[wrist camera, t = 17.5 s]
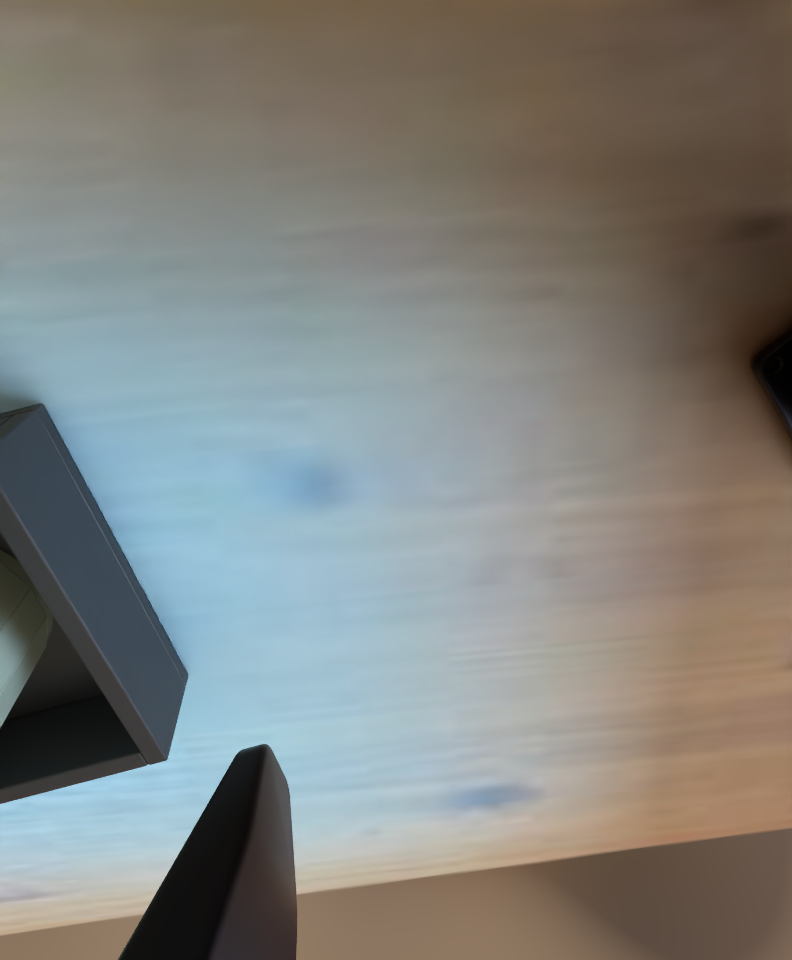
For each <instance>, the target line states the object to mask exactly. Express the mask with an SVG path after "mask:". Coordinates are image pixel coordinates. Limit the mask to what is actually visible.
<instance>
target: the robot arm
mask: <svg viewBox="0 0 792 960" xmlns="http://www.w3.org/2000/svg"><path fill="white" fill-rule="evenodd" d="M771 360H773V364H772V366H771V367H770V368H769V369H767V365H768V363H769V362H770V361H771ZM752 369H753V373H754V374H755V376H756V378H757V380H758V381H759V383H760V385H761V386H762V388H763V390H764V392H765V393H766V395H767V397H768V399H769V400H770V402H771V404H772V406H773V407H774V409H775V411H776V413H777V414H778V416H779V418H780V420H781V421H782V423H783V425H784V427H785V428H786V430H787V432H788V433H789V435H790V437H791V439H792V328H791V329H790V330H789V331H788V332H786V333H785V334H784V335H782V336H781V337H780V338H778V339H777V340H776V341H774V342H773V343H772V344H770V345H769V346H768V347H767V348H765V349H764V350H763V351H761V352H760V353H759V354H758V355H757V356H756V357H755V359H754V361H753V365H752ZM296 900H297V899H296V882H295V867H294V852H293V836H292V821H291V806H290V794H289V788H288V784H287V780H286V778H285V776H284V774H283V772H282V770H281V768H280V766H279V764H278V761H277V759H276V757H275V755H274V753H273V751H272V749H271V748H270V747H269V746H268V745H266V744H262V745H258V746H254V747H250V748H247V749H243V750H241V751H240V752H239V753H238V754H237V755H236V756H235V758H234V759H233V761H232V763H231V765H230V766H229V768H228V770H227V772H226V773H225V775H224V777H223V778H222V780H221V782H220V784H219V785H218V787H217V789H216V791H215V792H214V794H213V796H212V798H211V799H210V801H209V803H208V804H207V806H206V808H205V810H204V811H203V813H202V815H201V817H200V818H199V820H198V822H197V824H196V825H195V827H194V829H193V830H192V832H191V834H190V836H189V837H188V839H187V841H186V843H185V844H184V846H183V848H182V850H181V851H180V853H179V855H178V856H177V858H176V860H175V862H174V863H173V865H172V867H171V869H170V870H169V872H168V874H167V876H166V877H165V879H164V881H163V882H162V884H161V886H160V888H159V889H158V891H157V893H156V895H155V896H154V898H153V900H152V902H151V903H150V905H149V907H148V908H147V910H146V912H145V914H144V915H143V917H142V919H141V921H140V922H139V924H138V926H137V928H136V929H135V931H134V933H133V935H132V936H131V938H130V940H129V942H128V943H127V945H126V947H125V948H124V950H123V952H122V954H121V955H120V957H119V959H118V960H296V943H297V901H296Z"/></svg>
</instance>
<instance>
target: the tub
mask: <svg viewBox="0 0 792 960" xmlns="http://www.w3.org/2000/svg"><path fill="white" fill-rule="evenodd" d="M0 549H1V550H3V551H4V552H6V553H8V554H9V555H11V556H13V557H14V558H15V559H17V560H18V561H19V563H20V564H21V566H22V568H23V569H24V571H25V572H26V574H27V575H28V577H29V579H30V580H31V582H32V583H33V585H34V586H35V588H36V589H37V591H38V593H39V594H40V596H41V597H42V599H43V600H44V602H45V604H46V605H47V607H48V608H49V610H50V611H51V613H52V615H53V628H52V633H51V636H50V639H49V641H48V643H47V645H46V648H45V650H44V652H43V653H42V655H41V657H40V659H39V661H38V662H37V664H36V666H35V668H34V669H33V671H32V673H31V675H30V677H29V678H28V680H27V682H26V684H25V685H24V687H23V689H22V691H21V692H20V694H19V696H18V698H17V700H16V701H15V703H14V705H13V707H12V708H11V710H10V712H9V714H8V716H7V717H6V719H5V721H4V723H3V724H2V726H1V728H0V804H2V803H6V802H9V801H13V800H17V799H21V798H25V797H29V796H32V795H36V794H40V793H44V792H48V791H51V790H55V789H59V788H63V787H67V786H71V785H74V784H78V783H82V782H86V781H90V780H93V779H97V778H101V777H105V776H109V775H113V774H116V773H120V772H124V771H128V770H132V769H136V768H139V767H143V766H146V765H147V764H150V765H151V764H155V763H158V762H162V761H166V760H167V759H168V755H169V751H170V747H171V743H172V739H173V735H174V731H175V727H176V723H177V719H178V715H179V711H180V707H181V703H182V699H183V695H184V691H185V686H186V683H187V679H188V674H187V672H186V670H185V668H184V666H183V664H182V663H181V661H180V659H179V657H178V655H177V653H176V651H175V649H174V648H173V646H172V644H171V642H170V640H169V638H168V636H167V634H166V633H165V631H164V629H163V627H162V625H161V623H160V621H159V620H158V618H157V616H156V614H155V612H154V610H153V608H152V606H151V605H150V603H149V601H148V599H147V597H146V595H145V593H144V592H143V590H142V588H141V586H140V584H139V582H138V580H137V578H136V577H135V575H134V573H133V571H132V569H131V567H130V565H129V564H128V562H127V560H126V558H125V556H124V554H123V552H122V550H121V549H120V547H119V545H118V543H117V541H116V539H115V537H114V536H113V534H112V532H111V530H110V528H109V526H108V524H107V522H106V521H105V519H104V517H103V515H102V513H101V511H100V509H99V507H98V506H97V504H96V502H95V500H94V498H93V496H92V494H91V493H90V491H89V489H88V487H87V485H86V483H85V481H84V479H83V478H82V476H81V474H80V472H79V470H78V468H77V466H76V465H75V463H74V461H73V459H72V457H71V455H70V453H69V451H68V450H67V448H66V446H65V444H64V442H63V440H62V438H61V437H60V435H59V433H58V431H57V429H56V427H55V425H54V423H53V422H52V420H51V418H50V416H49V414H48V412H47V410H46V409H45V407H44V405H43V404H37V405H33V406H29V407H25V408H21V409H17V410H13V411H10V412H6V413H2V414H0Z"/></svg>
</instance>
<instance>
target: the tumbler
mask: <svg viewBox="0 0 792 960" xmlns="http://www.w3.org/2000/svg"><path fill="white" fill-rule="evenodd" d="M52 628H53V615H52V613H51V611H50V610H49V608H48V607H47V605H46V604H45V602H44V600H43V599H42V597H41V596H40V594H39V593H38V591H37V589H36V588H35V586H34V585H33V583H32V582H31V580H30V579H29V577H28V575H27V574H26V572H25V571H24V569H23V568H22V566H21V564H20V563H19V561H18V560H17V559H15V558H14V557H13V556H11V555H9V554H8V553H6V552H4V551H3V550H1V549H0V728H1V726H2V724H3V723H4V721H5V719H6V717H7V716H8V714H9V712H10V710H11V708H12V707H13V705H14V703H15V701H16V700H17V698H18V696H19V694H20V692H21V691H22V689H23V687H24V685H25V684H26V682H27V680H28V678H29V677H30V675H31V673H32V671H33V669H34V668H35V666H36V664H37V662H38V661H39V659H40V657H41V655H42V653H43V652H44V650H45V648H46V645H47V643H48V641H49V639H50V636H51V633H52Z"/></svg>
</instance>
